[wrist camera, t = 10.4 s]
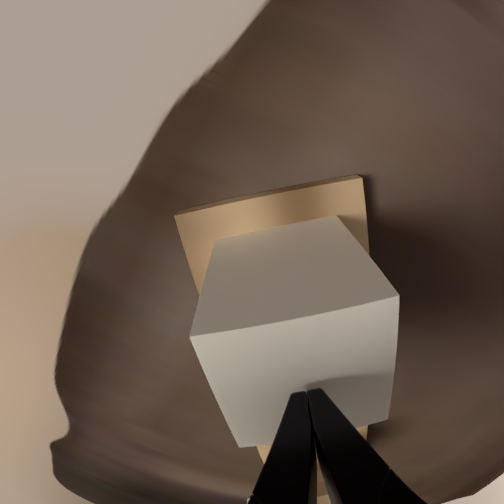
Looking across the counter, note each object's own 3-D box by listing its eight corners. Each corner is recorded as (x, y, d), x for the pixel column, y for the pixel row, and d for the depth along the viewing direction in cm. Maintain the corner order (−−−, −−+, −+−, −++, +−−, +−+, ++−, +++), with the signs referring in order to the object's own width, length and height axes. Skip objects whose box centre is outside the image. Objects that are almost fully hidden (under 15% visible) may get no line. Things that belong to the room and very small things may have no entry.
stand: (356, 174, 13) (418, 212, 8) (362, 449, 22) (377, 505, 16) (178, 210, 14) (136, 268, 9) (268, 466, 22) (270, 524, 17)
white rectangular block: (345, 315, 15) (387, 419, 9) (242, 335, 16) (239, 447, 10) (336, 215, 13) (399, 295, 7) (215, 239, 14) (189, 336, 8)
